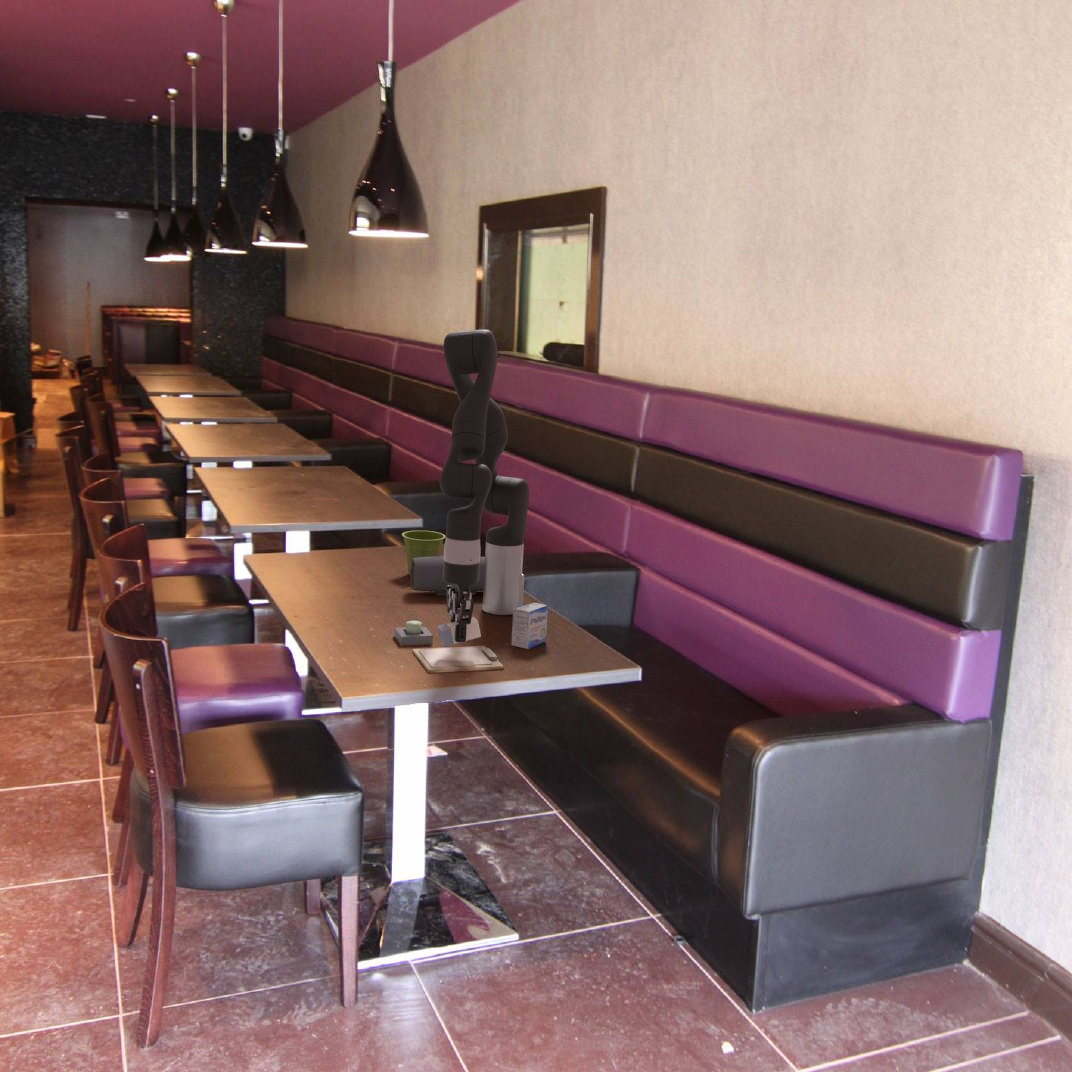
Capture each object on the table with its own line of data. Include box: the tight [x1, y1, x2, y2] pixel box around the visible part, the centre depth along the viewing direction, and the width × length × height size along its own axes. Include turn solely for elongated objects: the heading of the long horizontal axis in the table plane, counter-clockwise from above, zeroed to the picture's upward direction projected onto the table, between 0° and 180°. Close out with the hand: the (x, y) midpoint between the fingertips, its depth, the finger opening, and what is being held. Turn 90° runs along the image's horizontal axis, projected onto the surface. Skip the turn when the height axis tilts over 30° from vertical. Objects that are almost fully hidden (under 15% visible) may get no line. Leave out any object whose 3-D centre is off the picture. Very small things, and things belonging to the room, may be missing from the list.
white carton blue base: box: [437, 616, 482, 648], centre depth 234 cm, size 8×4×4 cm, turn 109°
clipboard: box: [412, 645, 505, 674], centre depth 236 cm, size 16×14×1 cm
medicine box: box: [511, 602, 549, 650], centre depth 250 cm, size 8×4×9 cm, turn 148°
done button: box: [405, 620, 423, 635], centre depth 247 cm, size 3×3×3 cm
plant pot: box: [401, 530, 446, 576], centre depth 305 cm, size 12×12×11 cm
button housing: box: [393, 626, 434, 647], centre depth 247 cm, size 7×7×2 cm
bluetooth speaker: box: [409, 555, 485, 596], centre depth 288 cm, size 23×9×10 cm, turn 106°
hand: (457, 638), depth 235 cm, fingers closed on white carton blue base, 3 cm apart
